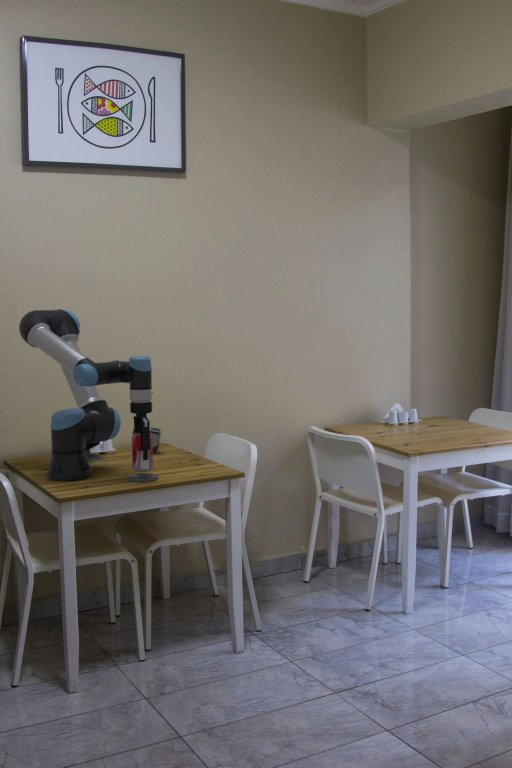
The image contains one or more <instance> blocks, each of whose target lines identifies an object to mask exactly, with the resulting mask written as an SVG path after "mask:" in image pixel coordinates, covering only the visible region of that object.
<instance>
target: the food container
mask: <svg viewBox="0 0 512 768" xmlns="http://www.w3.org/2000/svg"><path fill="white" fill-rule="evenodd" d="M149 428H150V433H151V436H152V444H153V454H154V455H153V456H159V453H160V451H159V450H160V441H161V436H162V430H161V428H159V427H151V426H150V427H149ZM133 433H134V428H133V430H132V433H131V434H132V435H133Z"/></svg>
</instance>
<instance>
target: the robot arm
mask: <svg viewBox="0 0 512 768" xmlns="http://www.w3.org/2000/svg"><path fill="white" fill-rule="evenodd" d="M80 327H81V324H80V321H79V318H78V317H77V315H76V314H75V313H74V312H72V311H71V310H69V309H61V308H59V309H36V310H35V309H34V310H31V311H28V312H26V313H25V314H24V315H23V317H22V318H21V319H20V321H19V326H18V330H19V334H20V337H21V339H22V340H23V341H24V342H26V344H28V346H30V347H32V348H35V349H37V348H38V349H39V350H41V351H42V352H43V353H44V354H46V355H47V356H48V357H50V358H51V359H53V360H54V361H55V362H57V363H58V364H59V365H60V367H61V369H62V371H63V374H64V376H65V380H66V382H67V385H68V386H69V389H70V392H71V393H72V394H71V395H72V396H73V398H74V400H75V403H76V405H77V407H73V408H72V407H71V408H66V409H64V408H63V409H61V410H58V411H55V412H54V413H53V414H52V415H51V417H50V432H51V435H50V436H51V458H50V460H49V461H50V462H49V464H48V468H47V471H46V472H47V474H46V475H47V477H46V478H47V479H48V480H51V481H53V480H54V481H78V480H83V479H87V478H90V477H91V476H92V468H91V465H90V461H88V459H87V456H86V444H89V443H95V442H100V443H101V442H102V443H103V442H107V441H109V440H113V439H115V438H116V437H117V436H118V434H119V432H120V428H121V424H122V423H121V422H122V421H121V416H120V413H119V411H118V410H117V409H115V408H113V407H109V405H108V402H107V400H106V399H104V398H101V397H100V394H99V392H98V390H97V387H96V386H101V385H111V384H112V385H113V384H121V383H122V384H129V401H130V403H129V409H130V410H129V412H130V413H131V414H133V415H134V416H133V429H134V433H135V432H137V433H140V438H141V449H140V451H141V470H144V469H149V449H151V447H150V428H149V427H151V426H150V425H151V424H150V423H151V421H150V420H149V418H148V415H147V414H151V413H152V412H153V402H152V399H153V394H154V391H153V390H152V389H153V387H152V386H153V385H152V378H153V377H152V370H153V368H152V360H151V357H150V356H147V355H146V356H145V355H142V356H141V355H136V356H135V355H134V356H130V357H129V359H128V361H124V360H109V361H107V362H95V361H93V360H92V359H90V358H89V357H87V356H86V355H85V354H84V353H82V352H81V350H80V347H79V346H78V341H79V340H80V339H79V335H80V332H81V328H80Z"/></svg>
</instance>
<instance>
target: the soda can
mask: <svg viewBox="0 0 512 768" xmlns="http://www.w3.org/2000/svg"><path fill="white" fill-rule="evenodd" d="M150 447H151V449H149V469H144V470H141V451H140V449H141V438H140V433H137V432H135V433H133V434H132V436H131V459H132V462H131V464H132V465H131V467H132V469H133V471H134V472H139V473H143V472H145V473H146V472H149V471H152V470H153V468H154V455H153V444H152V436H151V433H150Z"/></svg>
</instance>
